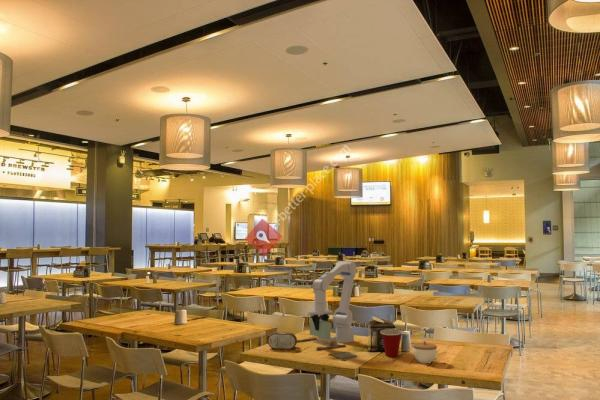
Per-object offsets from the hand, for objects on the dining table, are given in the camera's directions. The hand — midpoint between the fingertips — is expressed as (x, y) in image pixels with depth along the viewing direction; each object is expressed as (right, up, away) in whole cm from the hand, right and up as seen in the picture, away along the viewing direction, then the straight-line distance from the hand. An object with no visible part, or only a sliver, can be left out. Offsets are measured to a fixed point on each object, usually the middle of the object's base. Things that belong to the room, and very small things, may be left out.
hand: (320, 329), depth 261 cm
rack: (0, -11, +7) cm, 13 cm away
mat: (+8, -9, -11) cm, 17 cm away
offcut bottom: (+4, -10, +10) cm, 14 cm away
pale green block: (0, -3, 0) cm, 3 cm away
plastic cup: (+34, -9, -14) cm, 38 cm away
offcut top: (+4, -8, +9) cm, 13 cm away
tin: (-19, -10, 0) cm, 22 cm away
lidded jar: (+47, -9, -25) cm, 54 cm away
